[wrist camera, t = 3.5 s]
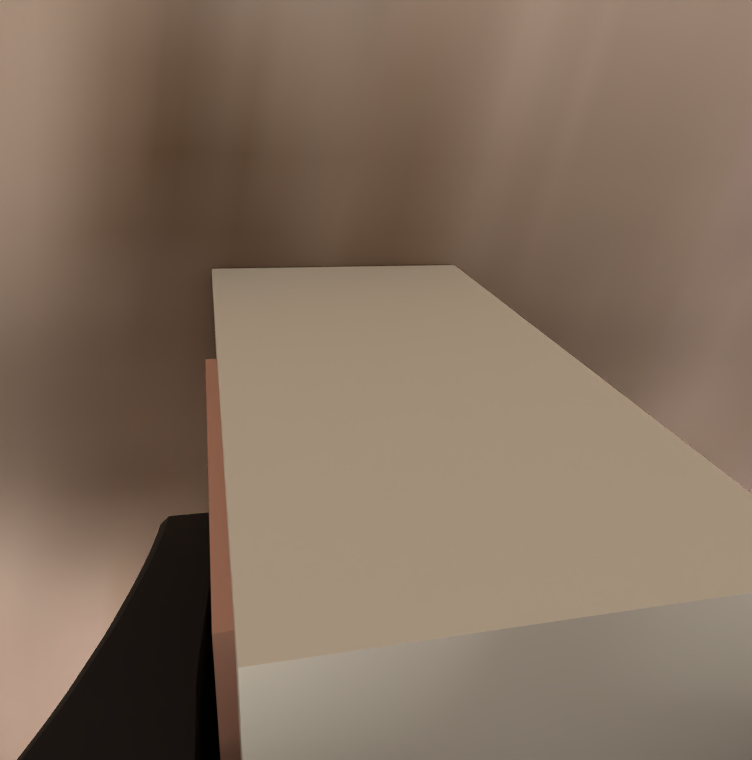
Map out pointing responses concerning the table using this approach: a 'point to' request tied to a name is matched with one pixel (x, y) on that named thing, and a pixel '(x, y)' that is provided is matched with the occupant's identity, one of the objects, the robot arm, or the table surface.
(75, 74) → the table surface
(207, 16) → the table surface
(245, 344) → the carton
